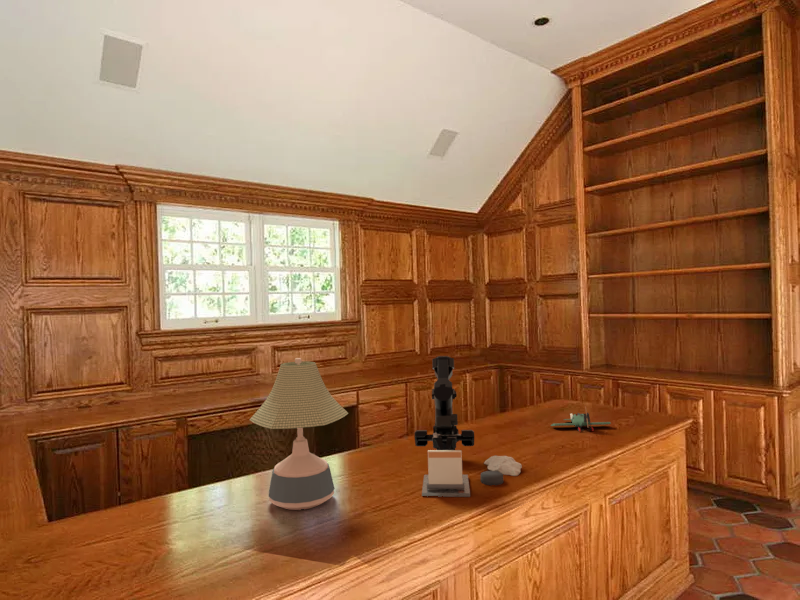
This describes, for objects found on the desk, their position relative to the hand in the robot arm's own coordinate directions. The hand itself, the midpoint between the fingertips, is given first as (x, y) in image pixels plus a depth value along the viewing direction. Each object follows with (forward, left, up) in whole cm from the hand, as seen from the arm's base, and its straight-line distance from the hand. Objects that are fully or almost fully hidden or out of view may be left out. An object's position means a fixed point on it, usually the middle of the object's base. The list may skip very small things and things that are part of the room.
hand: (444, 463), depth 152 cm
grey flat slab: (-1, +1, -8) cm, 8 cm away
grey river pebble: (+6, +15, -8) cm, 18 cm away
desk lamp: (-21, -37, -8) cm, 44 cm away
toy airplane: (-13, +94, -8) cm, 95 cm away
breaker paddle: (+3, -3, -6) cm, 7 cm away
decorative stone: (+1, +26, -8) cm, 28 cm away
